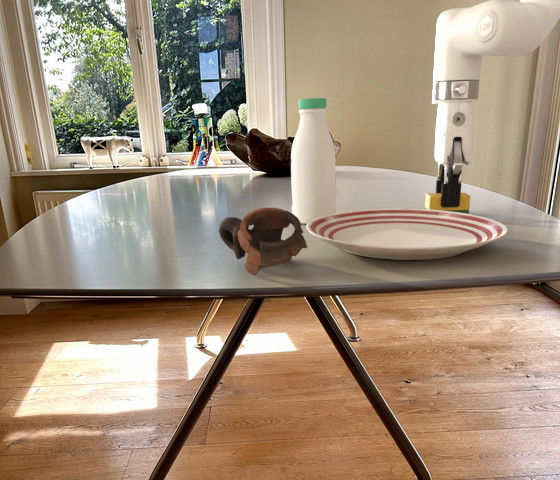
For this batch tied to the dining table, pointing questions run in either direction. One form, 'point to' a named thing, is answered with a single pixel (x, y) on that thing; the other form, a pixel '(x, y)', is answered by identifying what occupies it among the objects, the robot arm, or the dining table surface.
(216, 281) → the dining table surface
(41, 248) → the dining table surface
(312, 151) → the milk bottle
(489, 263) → the dining table surface
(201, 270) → the dining table surface
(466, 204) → the sponge
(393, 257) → the dinner plate
